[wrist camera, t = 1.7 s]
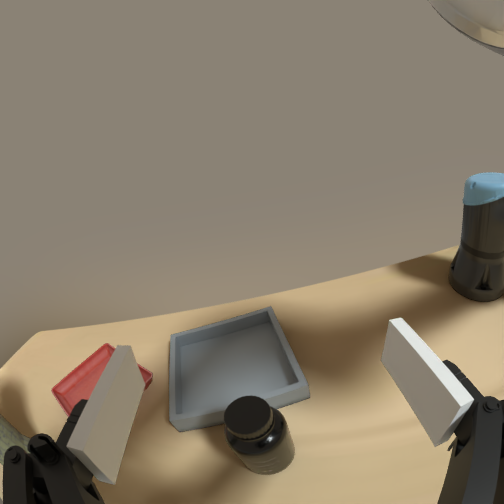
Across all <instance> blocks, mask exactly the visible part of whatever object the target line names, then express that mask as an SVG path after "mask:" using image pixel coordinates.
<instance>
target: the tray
mask: <svg viewBox="0 0 504 504" xmlns="http://www.w3.org/2000/svg"><path fill="white" fill-rule="evenodd" d="M250 395H252V396H257V397H260V398H262V399H264V400H265V401H267V403H268V404H269V405H270V406H271V407H274V408H275V409H279V408H282V407H285V406H288V405H291V404H294V403H297V402H300V401H302V400H305V399H308V398H310V393H309V385H308V383H307V381H306V379H305V376H304V374H303V372H302V370H301V368H300V366H299V364H298V362H297V360H296V358H295V356H294V353H293V351H292V349H291V347H290V345H289V343H288V341H287V339H286V337H285V335H284V333H283V330H282V328H281V326H280V324H279V322H278V320H277V318H276V316H275V314H274V311H273V309H272V307H271V306H270V307H267V308H264V309H260V310H257V311H254V312H251V313H247V314H244V315H241V316H237V317H234V318H231V319H227V320H224V321H220V322H217V323H213V324H210V325H206V326H202V327H199V328H195V329H191V330H188V331H184V332H180V333H176V334H172V335H171V340H170V371H169V421H170V422H171V423H172V424H173V426H174V427H175V428H176V429H177V430H178V431H179V432H183V431H189V430H195V429H200V428H205V427H210V426H215V425H219V424H224V423H225V422H224V412H225V410H226V408H227V407H228V405H230V403H231V402H233V401H234V400H236V399H237V398H240V397H242V396H250Z"/></svg>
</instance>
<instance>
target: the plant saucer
mask: <svg viewBox="0 0 504 504" xmlns="http://www.w3.org/2000/svg"><path fill="white" fill-rule="evenodd" d="M115 349H116V348H114V347H113V346H111V345H110V344H109V343H105V344H104V345H103V346H101V347H100V348H99V349H98V350H97V351H95V352H94V353H93V354H92V355H91V356H89V357H88V358H87V359H86V360H85V361H83V362H82V363H81V364H80V365H79V366H78V367H76V368H75V369H74V370H73V371H72V372H70V373H69V374H68V375H67V376H66V377H65V378H63V379H62V380H61V381H60V382H59V383H58V384H56V385H55V386H54V387H53V388H52V390H51V391H52V393H53V395H54V396H55V398H56V400H57V401H58V403H59V404H60V406H61V407H62V409H63V410H64V412H65V413H66V414H67V416H68V417H69V416H70V413H71V411H72V409H73V408H74V406H75V405H76V404H77V403H78V402H79V401H80V400H81V399H86V400H89V398H90V396H91V394H92V392H93V390H94V388H95V386H96V384H97V382H98V380H99V378H100V376H101V375H102V373H103V371H104V369H105V367H106V365H107V363H108V362H109V360H110V358H111V356H112V354H113V353H114V351H115ZM137 365H138V367H139V370H140V372H141V375H142V377H143V380H144V382H145V388H144V391H145V390H146V389H147V387H148V386H149V384H150V382H151V380H152V377H153V373H152V372H150V371H148V370H147V369H145V368H144V367H142V366H141V365H139V364H137ZM144 391H143V392H144Z"/></svg>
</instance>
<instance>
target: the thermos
mask: <svg viewBox="0 0 504 504" xmlns="http://www.w3.org/2000/svg"><path fill="white" fill-rule="evenodd" d="M29 440H30V438H28V437H26V436H24V435H22V434H21V433H20V432H19V431H17V430H16V429H15V428H14V427H13V426H12V425H11V424H10V423H9V422H8V421H7V420H6V419H5V418H4V417H3V416H2V415H1V414H0V463H1V464H2V465H3V464H4V455H5V452H6V450H7V449H8V448H10V447H11V446H15V445H16V446H20V447H21V448H23V449H24V450H25V451H26V453H30V452H29V451H28V450H27V445H28V443H29Z"/></svg>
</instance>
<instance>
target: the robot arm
mask: <svg viewBox="0 0 504 504" xmlns="http://www.w3.org/2000/svg"><path fill="white" fill-rule="evenodd" d="M428 1H429V2H430V4H431V5H432V7H433V8H434V9H435V10H436V11H437V12H438V13H439V14H440V16H441V17H442V18H443V19H444V20H446V21H447V22H448V23H449V24H450V25H451V26H452V27H454V28H455V29H456V30H458V31H459V32H460V33H462V34H463V35H465V36H466V37H468V38H469V39H471V40H472V41H474V42H476V43H478V44H480V45H482V46H484V47H486V48H488V49H490V50H492V51H494V52H496V53H498V54H501V55H503V56H504V0H428ZM463 203H464V209H463V210H464V211H463V223H462V233H461V243H460V246H459V248H458V251H457V253H456V255H455V257H454V259H453V261H452V263H451V266H450V271H449V281H450V284H451V285H452V287H453V288H454V289H455V290H456V291H457V292H458V293H460V294H461V295H463V296H465V297H467V298H470V299H473V300H477V301H492V300H495V299H498V298H499V297H501V296H502V295H503V293H504V174H502V173H480V174H475V175H473V176H470V177H469V178H468V179H467V180H466V182H465V188H464V198H463ZM381 362H382V363H383V365H384V366H385V368H386V369H387V371H388V372H389V374H390V375H391V377H392V378H393V380H394V381H395V383H396V384H397V386H398V388H399V389H400V391H401V392H402V394H403V395H404V397H405V398H406V400H407V402H408V403H409V405H410V406H411V408H412V410H413V411H414V413H415V414H416V416H417V418H418V419H419V421H420V422H421V424H422V426H423V427H424V429H425V431H426V432H427V434H428V436H429V437H430V439H431V441H432V442H433V444H434V446H435V447H436V446H438V445H440V444H442V443H444V442H446V441H448V440H449V438H450V437H451V436H452V434H453V433H455V435H456V436H457V437H456V438H455V439H454V441H453V442H452V443H451V445H450V446H449V448H448V450H447V451H450V449H451V448H452V447H453V449H452V454H451V458H450V462H449V466H448V470H447V474H446V478H445V481H444V484H443V488H442V491H441V494H440V497H439V500H438V503H437V504H504V400H501V401H499V400H498V399H496V398H495V397H491V396H486V397H484V396H483V395H482V394H481V393H480V392H479V391H478V390H477V388H476V387H475V386H474V385H473V384H472V383H471V382H470V380H469V379H468V378H466V376H465V375H464V374H463V373H461V370H460V369H459V368H458V367H457V366H456V365H455V364H453V363H452V362H450V361H448V360H445V361H441V360H440V359H439V358H438V357H437V355H436V354H435V353H434V352H433V351H432V350H431V349H430V348H429V347H428V345H427V344H426V343H425V342H424V341H423V340H422V339H421V338H420V337H419V336H418V335H417V334H416V333H415V331H414V330H413V329H412V328H411V327H410V326H409V325H408V324H407V323H406V322H405V321H404V320H403V319H402V318H396V319H392V320H389V324H388V329H387V334H386V339H385V344H384V349H383V353H382V358H381ZM144 388H145V382H144V380H143V377H142V375H141V372H140V370H139V367H138V365H137V362H136V359H135V357H134V354H133V351H132V348H131V346H122V345H117V347H116V349H115V351H114V353H113V354H112V356H111V358H110V360H109V362H108V363H107V365H106V367H105V369H104V371H103V373H102V375H101V376H100V378H99V380H98V382H97V384H96V386H95V388H94V390H93V392H92V394H91V396H90V398H89V400H86V399H81V400H80V401H79V402H78V403H77V404H76V405H75V406H74V408H73V409H72V411H71V413H70V416H69V417H68V419H67V422H66V423H65V425H64V427H63V429H62V431H61V433H60V435H59V437H58V439H57V442H56V443H55V442H54V440H53V439H52V438H51V437H50V436H48V435H47V434H37V435H35V436H33V437H32V438H31V439H30V440H29V443H28V445H27V450H28V451H29V452H30V453H26V451H25V450H24V449H23V448H21V447H20V446H16V445H15V446H11V447H10V448H8V449H7V450H6V452H5V455H4V464H3V504H105V503H104V501H103V499H102V497H101V496H100V494H99V492H98V490H97V488H96V486H95V484H94V483H93V482H92V477H93V475H94V476H95V477H96V478H97V479H98V480H99V481H101V482H105V483H110V484H114V485H115V483H116V479H117V476H118V472H119V468H120V465H121V461H122V458H123V454H124V451H125V448H126V444H127V441H128V438H129V434H130V431H131V428H132V425H133V421H134V418H135V415H136V412H137V409H138V406H139V403H140V400H141V397H142V394H143V391H144Z"/></svg>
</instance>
